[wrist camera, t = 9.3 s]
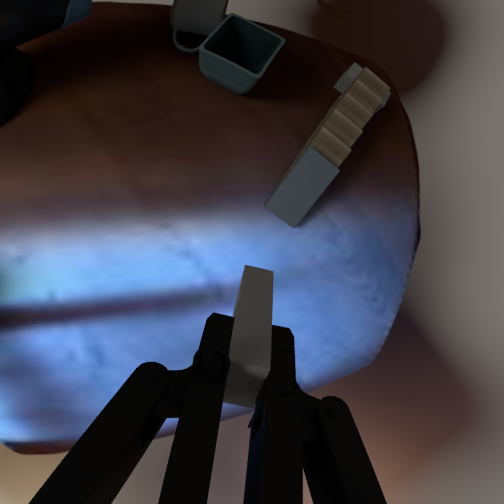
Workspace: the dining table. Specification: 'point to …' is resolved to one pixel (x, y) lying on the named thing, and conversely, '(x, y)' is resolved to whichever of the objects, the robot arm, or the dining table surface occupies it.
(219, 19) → the ceramic mug
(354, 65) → the end block
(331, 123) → the domino
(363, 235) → the dining table surface
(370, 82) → the domino
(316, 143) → the domino
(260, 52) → the flower pot
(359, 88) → the domino
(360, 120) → the domino
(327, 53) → the dining table surface
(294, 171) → the domino
